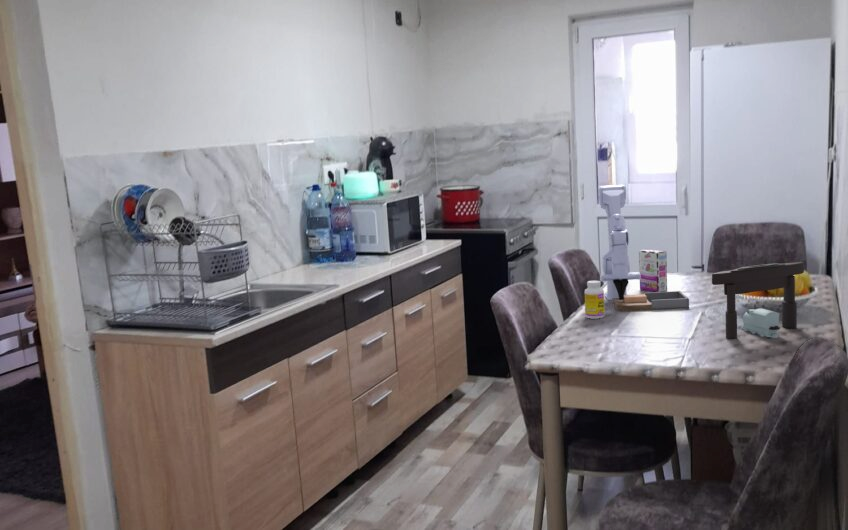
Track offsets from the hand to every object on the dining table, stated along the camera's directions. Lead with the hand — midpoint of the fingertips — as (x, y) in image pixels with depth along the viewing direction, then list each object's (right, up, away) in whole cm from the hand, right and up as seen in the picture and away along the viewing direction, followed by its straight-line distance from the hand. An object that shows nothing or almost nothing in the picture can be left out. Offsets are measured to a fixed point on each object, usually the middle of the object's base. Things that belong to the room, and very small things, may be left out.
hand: (621, 299), depth 285 cm
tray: (+16, -2, -1) cm, 17 cm away
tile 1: (+3, -1, 0) cm, 3 cm away
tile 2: (+7, -1, -1) cm, 7 cm away
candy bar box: (+19, +2, +25) cm, 32 cm away
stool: (+31, -8, -47) cm, 56 cm away
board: (+4, -3, 0) cm, 5 cm away
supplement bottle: (-12, -6, -12) cm, 18 cm away
